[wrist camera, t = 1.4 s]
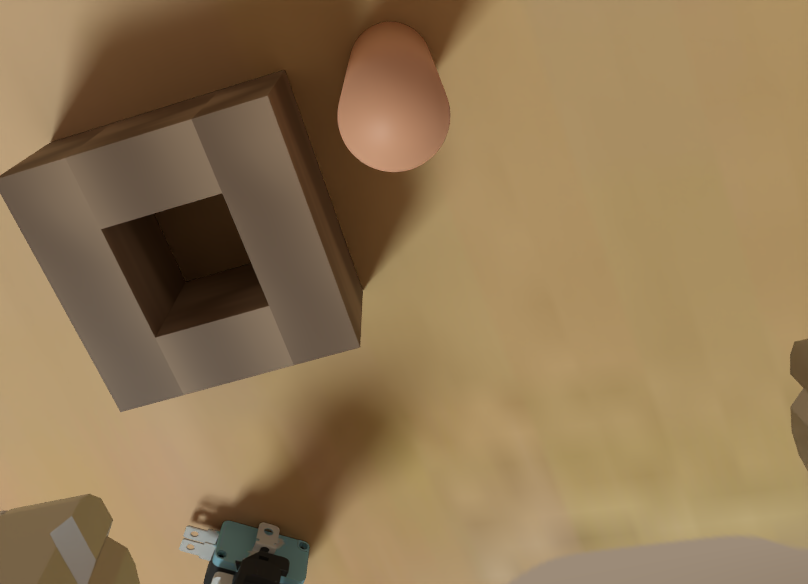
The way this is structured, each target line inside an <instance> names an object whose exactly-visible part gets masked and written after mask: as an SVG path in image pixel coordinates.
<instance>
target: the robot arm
mask: <svg viewBox="0 0 808 584" xmlns="http://www.w3.org/2000/svg"><path fill="white" fill-rule="evenodd" d="M790 374H791V375H792V376H793V377H794V379H795V380H796V381H797V382H798V383H799V384H800V385H801V386H802V387H803V390H802V391H801V392H800V394H799V395H798V397H797V398H796V400H795V401H794V402H793V404H792V405H791V427H792V434H793V437H794V440H795V444H796V447H797V450H798V454H799V456H800V458H801V460H802V461H803V463H804V465H805V467H806V469H807V470H808V339H804V340H800V341H795V342H794V345H793V348H792V351H791V354H790ZM112 521H113V519H112V517H111V515H110V513H109V512H108V510H107V508H106V506H105V505H104V503H103V501H102V499H101V498H99V497H96V496H94V495H91V494H86V495H81V496H76V497H71V498H66V499H60V500H55V501H50V502H45V503H40V504H35V505H30V506H25V507H19V508H14V509H11V510H9V511H0V584H140V582H139V578H138V574H137V570H136V566H135V563H134V561H133V559H132V557H131V555H130V553H129V550H128V548H126V547H125V546H123V545H121V544H120V543H118V542H116V541H114V540H113V539H111V538H109V537H108V534H109V531H110V528H111V524H112Z"/></svg>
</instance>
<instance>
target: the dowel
mask: <svg viewBox="0 0 808 584" xmlns="http://www.w3.org/2000/svg"><path fill="white" fill-rule="evenodd" d="M449 124H450V107H449V102H448V99H447V96H446V93H445V90H444V88H443V85H442V82H441V80H440V77H439V74H438V72H437V69H436V67H435V64H434V61H433V59H432V56H431V54H430V51H429V48H428V46H427V44H426V42H425V41H424V39H423V38H422V37H421V35H420V34H419V33H418V32H417V31H415V30H414V29H413V28H411V27H409V26H407V25H405V24H402V23H398V22H382V23H378V24H376V25H373V26H371V27H370V28H368V29H367V30H365V31H364V32H363V33H362V34H361V35H360V36H359V37H358V39H357V40H356V42H355V43H354V45H353V48H352V50H351V54H350V58H349V62H348V67H347V71H346V75H345V79H344V84H343V88H342V92H341V96H340V101H339V105H338V126H339V130H340V134H341V136H342V139H343V141H344V143H345V144H346V146H347V148H348V149H349V150H350V152H351V153H352V154H353V155H354V156H355V157H356V158H357V159H359V160H360V161H361V162H363V163H364V164H366V165H367V166H370V167H372V168H374V169H377V170H381V171H386V172H401V171H407V170H411V169H413V168H416V167H418V166H420V165H422V164H424V163H425V162H427V161H428V160H429V159H430V158H432V157H433V156H434V155H435V154H436V152H437V151H438V150H439V149H440V147H441V146H442V144H443V142H444V140H445V138H446V136H447V133H448V129H449Z"/></svg>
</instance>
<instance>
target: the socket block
mask: <svg viewBox="0 0 808 584" xmlns="http://www.w3.org/2000/svg"><path fill="white" fill-rule="evenodd" d="M221 193H222V194H223V196H224V199H225V201H226V203H227V206H228V208H229V211H230V213H231V215H232V218H233V220H234V223H235V225H236V227H237V230H238V232H239V235H240V237H241V239H242V242H243V244H244V247H245V249H246V252H247V254H248V256H249V259H250V261H251V264H248V265H244V266H241V267H237V268H234V269H230V270H227V271H223V272H220V273H216V274H213V275H209V276H206V277H202V278H199V279H195V280H192V281H188V282H185V280H184V278H183V276H182V274H181V272H180V270H179V267H178V265H177V263H176V261H175V259H174V257H173V254H172V252H171V250H170V248H169V246H168V244H167V242H166V239H165V237H164V235H163V233H162V231H161V229H160V226H159V224H158V222H157V220H156V218H155V216H154V213H157V212H161V211H164V210H167V209H171V208H174V207H178V206H181V205H184V204H188V203H191V202H194V201H198V200H201V199H205V198H208V197H211V196H215V195H218V194H221ZM0 194H1V195H2V197H3V199H4V201H5V203H6V204H7V206H8V208H9V210H10V212H11V214H12V215H13V217H14V219H15V221H16V223H17V224H18V226H19V228H20V230H21V232H22V234H23V235H24V237H25V239H26V241H27V243H28V244H29V246H30V248H31V250H32V252H33V254H34V255H35V257H36V259H37V261H38V263H39V264H40V266H41V268H42V270H43V272H44V274H45V275H46V277H47V279H48V281H49V283H50V284H51V286H52V288H53V290H54V292H55V294H56V295H57V297H58V299H59V301H60V303H61V304H62V306H63V308H64V310H65V312H66V314H67V315H68V317H69V319H70V321H71V323H72V324H73V326H74V328H75V330H76V332H77V334H78V335H79V337H80V339H81V341H82V343H83V344H84V346H85V348H86V350H87V352H88V354H89V355H90V357H91V359H92V361H93V363H94V364H95V366H96V368H97V370H98V372H99V374H100V375H101V377H102V379H103V381H104V383H105V384H106V386H107V388H108V390H109V392H110V394H111V395H112V397H113V399H114V401H115V403H116V404H117V406H118V408H119V410H120V412H123V411H126V410H130V409H134V408H137V407H141V406H145V405H148V404H152V403H156V402H160V401H163V400H167V399H171V398H174V397H178V396H182V395H185V394H189V393H193V392H197V391H200V390H204V389H208V388H211V387H215V386H219V385H222V384H226V383H230V382H234V381H237V380H241V379H245V378H248V377H252V376H256V375H259V374H263V373H267V372H270V371H274V370H278V369H282V368H285V367H289V366H293V365H296V364H300V363H304V362H307V361H311V360H315V359H319V358H322V357H326V356H330V355H333V354H337V353H341V352H344V351H348V350H352V349H356V348H359V347H360V337H361V317H362V297H363V291H362V288H361V285H360V282H359V279H358V276H357V274H356V271H355V268H354V265H353V262H352V259H351V256H350V254H349V251H348V248H347V245H346V242H345V239H344V237H343V234H342V231H341V228H340V225H339V222H338V220H337V217H336V214H335V211H334V208H333V205H332V203H331V200H330V197H329V194H328V191H327V188H326V186H325V183H324V180H323V177H322V174H321V171H320V169H319V166H318V163H317V160H316V157H315V154H314V152H313V149H312V146H311V143H310V140H309V137H308V135H307V132H306V129H305V126H304V123H303V120H302V118H301V115H300V112H299V109H298V106H297V103H296V100H295V98H294V95H293V92H292V89H291V86H290V83H289V81H288V78H287V75H286V72H285V70H283V71H279V72H276V73H273V74H270V75H266V76H263V77H260V78H257V79H254V80H250V81H247V82H244V83H241V84H238V85H234V86H231V87H228V88H225V89H221V90H218V91H215V92H212V93H209V94H205V95H202V96H199V97H196V98H193V99H189V100H186V101H183V102H180V103H176V104H173V105H170V106H167V107H164V108H160V109H157V110H154V111H151V112H147V113H144V114H141V115H138V116H135V117H131V118H128V119H125V120H122V121H119V122H115V123H112V124H109V125H106V126H102V127H99V128H96V129H93V130H90V131H86V132H83V133H80V134H77V135H73V136H70V137H67V138H64V139H61V140H57V141H54V142H51V143H49V144H47V145H46V146H44V147H43V148H41V149H40V150H38V151H37V152H35V153H34V154H32V155H31V156H29V157H28V158H26V159H25V160H23V161H22V162H20V163H19V164H17V165H15V166H14V167H12V168H11V169H9V170H8V171H6V172H5V173H3V174H2V175H0Z"/></svg>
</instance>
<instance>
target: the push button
mask: <svg viewBox="0 0 808 584" xmlns="http://www.w3.org/2000/svg"><path fill="white" fill-rule="evenodd" d="M265 529H270V530H271V531H272V532H273V533H272V532H268V531H265ZM192 531H196V532H198V534H199V535H198V536H193V535H191V532H192ZM279 531H280V529H279V528H278V527H277V526H275V525H271V524H267V523H264V522H263V523H260V524H259V528H258V529H257V528H254V527H250V526H247V525H243V524H240V523H236V522H233V521H224V523H223V524H222V527H221V530H220V532H219V531H216V530H212V529H209V530H208V531H207V530H204V529H200V528H197V527H193V526H187V527H186V530H185V533H184V535H183V536H184V537H185V538H184V539H183V540H182V542H181V545H180V548H179V549H180V551H184V552H188V553H191V554H195V555H199V558H201V559H205V560H208V561H210V562H209V565H208V568H207V571H206V575H205V579H204V584H303V583H304V580H305V578H306V573H307V564H308V555H309V548H310V547H309V544H308V543H307V542H305V541H302V540H296V539H293V538H289V537H286V536H282V535H279ZM186 538H188V539H186ZM189 539H192V540H189ZM193 540H196V541H199V542H196V541H193ZM200 542H203V543H200ZM188 544H192V545H194V547H195V548H194V549H189V548H187V545H188Z"/></svg>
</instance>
